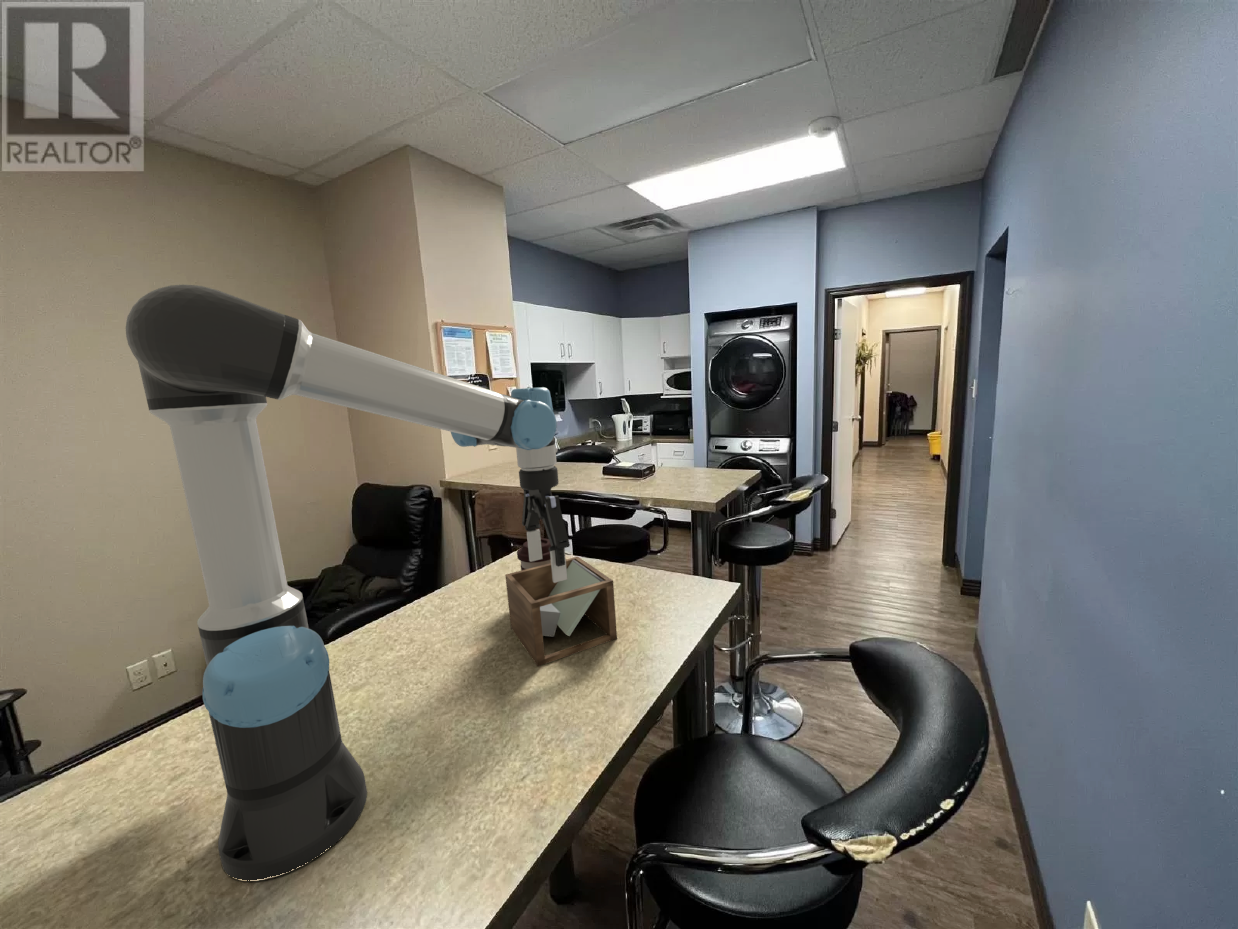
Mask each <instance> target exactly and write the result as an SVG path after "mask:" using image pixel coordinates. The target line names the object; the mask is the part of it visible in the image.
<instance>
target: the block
mask: <svg viewBox="0 0 1238 929" xmlns="http://www.w3.org/2000/svg"><path fill="white" fill-rule="evenodd" d="M540 613H541V624H542V634H543V637H544V636H545V637H555V633H556V630H557V626H558V625H557V623H558V620H559V616H560V612H559V611H558V610H557V609H556V608H555V607H554V606H553V605H552V604H548V605H545V606H541V607H540Z"/></svg>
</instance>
